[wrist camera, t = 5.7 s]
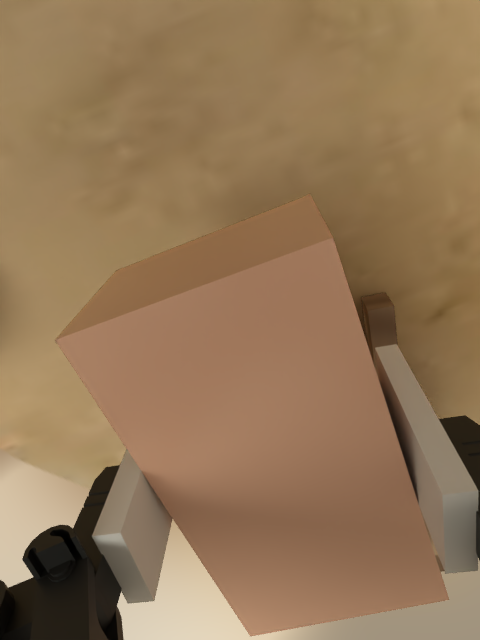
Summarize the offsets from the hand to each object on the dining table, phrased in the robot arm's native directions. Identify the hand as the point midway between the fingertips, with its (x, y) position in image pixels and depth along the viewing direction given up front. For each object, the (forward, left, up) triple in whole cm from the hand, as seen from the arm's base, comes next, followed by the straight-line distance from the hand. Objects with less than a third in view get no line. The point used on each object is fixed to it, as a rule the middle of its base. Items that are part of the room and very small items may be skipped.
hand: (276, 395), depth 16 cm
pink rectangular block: (0, 0, -1) cm, 1 cm away
